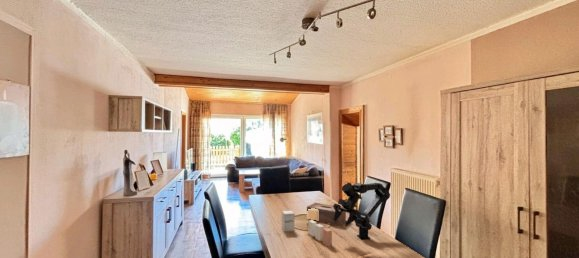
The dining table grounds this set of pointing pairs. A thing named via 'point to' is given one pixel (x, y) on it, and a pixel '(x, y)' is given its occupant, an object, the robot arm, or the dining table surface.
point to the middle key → (319, 232)
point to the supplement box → (288, 220)
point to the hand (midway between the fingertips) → (340, 223)
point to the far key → (311, 227)
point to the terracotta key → (327, 236)
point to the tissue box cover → (328, 213)
